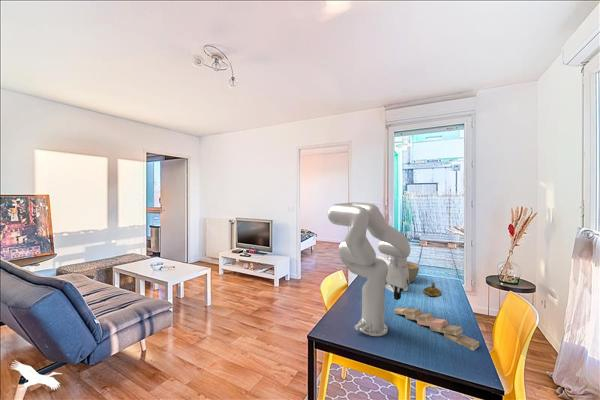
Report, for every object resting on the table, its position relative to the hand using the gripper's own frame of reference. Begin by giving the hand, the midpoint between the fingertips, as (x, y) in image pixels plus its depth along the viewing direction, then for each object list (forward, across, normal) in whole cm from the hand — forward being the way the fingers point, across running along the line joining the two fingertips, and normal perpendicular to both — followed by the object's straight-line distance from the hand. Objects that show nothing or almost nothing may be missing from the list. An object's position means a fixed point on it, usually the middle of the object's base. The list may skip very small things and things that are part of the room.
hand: (397, 298), depth 128 cm
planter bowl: (+7, -22, +42) cm, 48 cm away
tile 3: (+6, +18, 0) cm, 19 cm away
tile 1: (+6, +6, 0) cm, 8 cm away
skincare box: (+7, -24, +24) cm, 34 cm away
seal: (+7, -2, +37) cm, 38 cm away
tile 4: (+6, +24, 0) cm, 25 cm away
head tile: (+6, 0, 0) cm, 6 cm away
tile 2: (+6, +12, 0) cm, 13 cm away
